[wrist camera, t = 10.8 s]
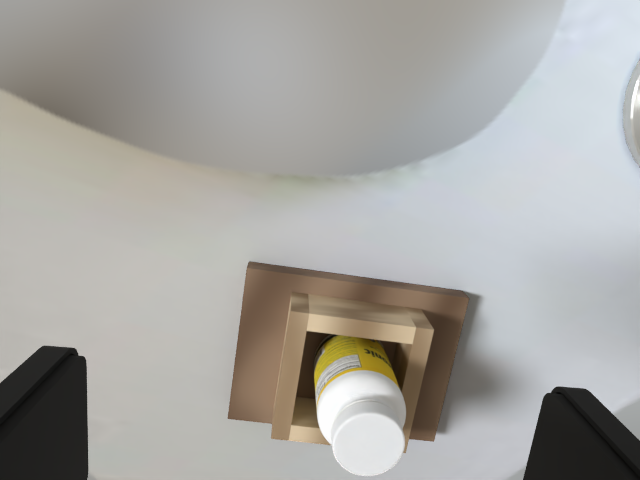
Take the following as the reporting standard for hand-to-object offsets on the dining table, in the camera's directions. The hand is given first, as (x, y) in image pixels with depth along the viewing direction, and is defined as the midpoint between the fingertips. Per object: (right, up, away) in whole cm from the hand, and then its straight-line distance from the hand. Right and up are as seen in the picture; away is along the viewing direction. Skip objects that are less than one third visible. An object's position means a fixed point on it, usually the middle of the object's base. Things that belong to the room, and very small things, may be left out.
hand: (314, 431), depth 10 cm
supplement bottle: (+2, -5, +26) cm, 27 cm away
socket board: (+2, -5, +27) cm, 28 cm away
